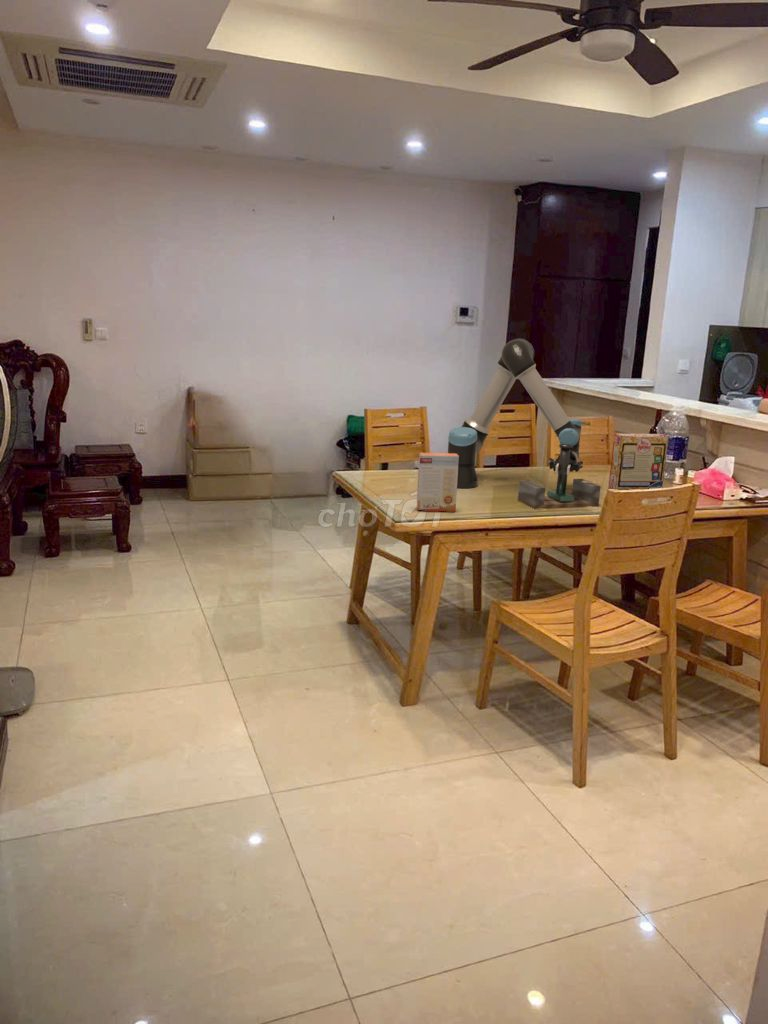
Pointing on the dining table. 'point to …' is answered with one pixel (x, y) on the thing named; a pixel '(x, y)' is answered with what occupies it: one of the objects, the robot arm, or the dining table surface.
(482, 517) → the dining table surface
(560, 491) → the green pole stand
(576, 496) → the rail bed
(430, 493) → the cracker box
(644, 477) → the board game box
